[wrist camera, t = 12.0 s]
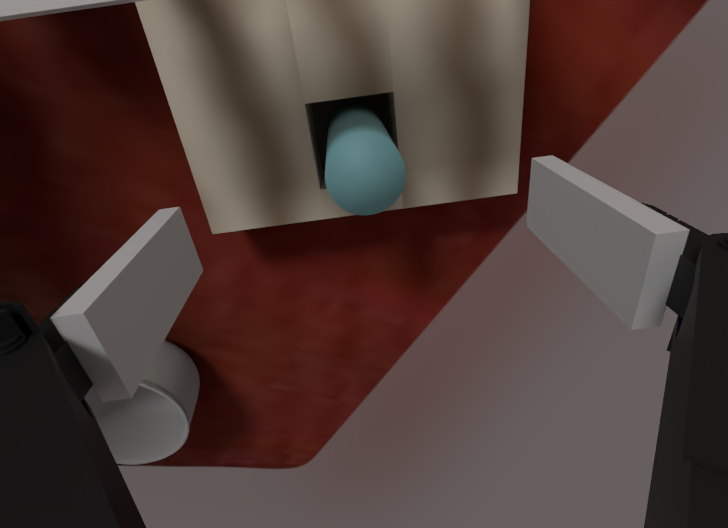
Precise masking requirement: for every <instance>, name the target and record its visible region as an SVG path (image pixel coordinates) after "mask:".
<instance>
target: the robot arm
mask: <svg viewBox="0 0 728 528" xmlns="http://www.w3.org/2000/svg"><path fill="white" fill-rule="evenodd" d="M526 226H527V227H528V228H529V229H530V230H531V231H532V232H533V233H534V234H535V235H536V236H537V237H538V238H539V239H540V240H541V241H542V242H543V243H544V244H545V245H546V246H547V247H548V248H549V249H550V250H551V251H552V252H553V253H554V254H555V255H556V256H557V257H558V258H559V259H560V260H561V261H562V262H563V263H564V264H565V265H566V266H567V267H568V268H569V269H570V270H571V271H572V272H573V273H574V274H576V276H577V277H578V278H579V279H580V280H581V281H583V283H584V284H586V286H587V287H588V288H590V289H591V290H592V291H593V292H594V293H595V294H596V295H597V296H598V297H599V298H600V299H601V300H602V301H603V302H604V303H605V304H606V305H607V306H608V307H609V308H610V309H611V310H612V311H613V312H614V313H615V314H616V315H617V316H618V317H619V318H620V319H621V320H622V321H623V322H624V323H625V324H626V325H627V326H628V327H629V328H630V329H631V330H633V329H640V328H648V327H655V326H660V325H661V322H662V319H663V316H664V313H665V310H666V306H668V307H669V308H670V309H671V310H673V311H674V312H675V313H676V314H678V317H677V321H676V324H675V327H674V330H673V333H672V336H671V339H670V342H669V345H668V348H667V351H670V359H669V366H668V372H667V379H666V386H665V392H664V399H663V405H662V412H661V419H660V425H659V432H658V439H657V445H656V452H655V458H654V465H653V472H652V478H651V485H650V491H649V499H648V505H647V512H646V518H645V524H644V528H728V233H721V234H712V235H707V234H705V233H703V232H701V231H700V230H698V229H696V228H694V227H692V226H690V225H688V224H686V223H685V222H683V221H678V219H677V218H675V217H673V216H671V215H667V213H666V212H664V211H662V210H660V209H658V208H656V207H654V206H652V205H648V204H644V203H641V202H638V201H636V200H634V199H632V198H630V197H628V196H626V195H624V194H623V193H621V192H619V191H617V190H615V189H613V188H612V187H610V186H608V185H606V184H604V183H603V182H601V181H599V180H597V179H595V178H593V177H592V176H590V175H588V174H586V173H584V172H582V171H581V170H578V169H577V168H575V167H573V166H571V165H569V164H568V163H566V162H564V161H562V160H560V159H558V158H557V157H555V156H553V155H550V156H543V157H536V158H532V161H531V173H530V185H529V197H528V209H527V222H526ZM202 272H203V268H202V266H201V263H200V260H199V258H198V255H197V252H196V249H195V247H194V244H193V241H192V239H191V236H190V233H189V230H188V228H187V225H186V222H185V220H184V217H183V214H182V211H181V209H180V207H174V208H167V209H160V210H158V211H157V212H156V213H155V214H154V215H153V216H152V217H151V218H150V219H149V220H148V221H147V222H146V223H145V224H144V225H143V226H142V227H141V228H140V229H139V230H138V231H137V232H136V233H135V234H134V235H133V236H132V237H131V238H130V239H129V240H128V241H127V242H126V243H125V244H124V245H123V246H122V247H121V248H120V249H119V250H118V251H117V252H116V253H115V254H114V255H113V256H112V257H111V258H110V259H109V260H108V261H107V262H106V263H105V264H104V265H103V266H102V267H101V268H100V269H99V270H98V271H97V272H96V273H95V274H94V275H93V276H92V277H91V278H90V279H89V280H87V281H86V282H84V283H83V284H81V285H79V286H78V287H77V288H76V289H75V290H74V291H73V292H72V293H71V294H70V295H69V296H67V299H64V300H63V301H62V302H61V303H60V304H59V305H58V308H55V309H54V310H53V311H52V312H51V313H50V314H49V315H48V316H47V317H46V318H45V319H44V320H43V321H42V322H41V323H40V324H39V325H38V326H37V325H36V324H35V322H34V321H33V319H32V318H31V316H30V314H29V313H28V311H27V310H26V308H25V307H24V305H23V304H22V303H20V302H19V301H8V302H2V303H0V528H146V526H145V524H144V522H143V520H142V518H141V515H140V513H139V511H138V509H137V507H136V505H135V503H134V500H133V498H132V496H131V494H130V492H129V490H128V487H127V485H126V483H125V481H124V479H123V477H122V474H121V472H120V470H119V468H118V466H117V464H116V461H115V459H114V457H113V455H112V453H111V451H110V448H109V446H108V444H107V442H106V440H105V438H104V435H103V433H102V431H101V429H100V427H99V425H98V422H97V420H96V418H95V416H94V414H93V412H92V409H91V407H90V406H89V404H88V403H87V401H86V400H85V398H84V397H85V396H86V394H87V393H88V391H89V390H90V388H91V387H92V386H93V387H94V389H95V390H96V392H97V394H98V395H99V397H100V398H101V400H102V401H103V402H107V401H114V400H121V399H128V398H132V397H133V395H134V393H135V392H136V390H137V388H138V386H139V384H140V383H141V381H142V379H143V377H144V375H145V374H146V372H147V370H148V368H149V367H150V365H151V363H152V361H153V359H154V358H155V356H156V354H157V352H158V350H159V349H160V347H161V345H162V343H163V341H164V340H165V338H166V336H167V334H168V333H169V331H170V329H171V327H172V325H173V324H174V322H175V320H176V318H177V316H178V315H179V313H180V311H181V309H182V308H183V306H184V304H185V302H186V300H187V299H188V297H189V295H190V293H191V291H192V290H193V288H194V286H195V284H196V283H197V281H198V279H199V277H200V275H201V274H202Z"/></svg>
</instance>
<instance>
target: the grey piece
mask: <svg viewBox="0 0 728 528" xmlns="http://www.w3.org/2000/svg"><path fill="white" fill-rule="evenodd" d="M139 1H146V0H0V21H5V20H12V19H19V18H26V17H33V16H40V15H47V14H54V13H61V12H68V11H75V10H82V9H90V8H97V7H104V6H111V5H118V4H125V3H132V2H139Z"/></svg>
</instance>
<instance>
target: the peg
mask: <svg viewBox="0 0 728 528" xmlns="http://www.w3.org/2000/svg"><path fill="white" fill-rule="evenodd" d="M405 180H406V170H405V165H404V161H403V159H402V157H401V155H400V153H399V151H398V150H397V148H396V146H395V144H394V143H393V141H392V139H391V137H390V136H389V134H388V132H387V130H386V129H385V127H384V125H383V123H382V122H381V120H380V118H379V116H378V115H377V113H376V112H375V111H374V110H373V109H372V108H371V107H370V106H368V105H366V104H364V103H361V102H349V103H346V104H343V105H341V106H340V107H339V108H337V109H336V110H335V112H334V113H333V114H332V116H331V118H330V121H329V126H328V138H327V151H326V164H325V184H326V188H327V191H328V193H329V195H330V197H331V198H332V200H333V201H334V202H335V203H336V204H337V205H338V206H339V207H340V208H342V209H343V210H345V211H347V212H349V213H352V214H356V215H373V214H377V213H380V212H382V211H384V210H386V209H387V208H389V207H390V206H391V205H393V204H394V203H395V202H396V200H397V199H398V198H399V196H400V195H401V193H402V191H403V188H404V185H405Z"/></svg>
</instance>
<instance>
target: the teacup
mask: <svg viewBox="0 0 728 528" xmlns="http://www.w3.org/2000/svg"><path fill="white" fill-rule="evenodd" d="M199 385H200V381H199V373H198V370H197V367H196V365H195V364H194V362H193V361H192V359H191V358H190V357H189V355H188V354H187V353H186V352H184V351H183V350H182V349H181V348H179V347H178V346H176V345H174V344H173V343H170V342H168V341H166V340H164V341H163V343H162V345H161V347H160V349H159V350H158V352H157V354H156V356H155V358H154V359H153V361H152V363H151V365H150V367H149V368H148V370H147V372H146V374H145V375H144V377H143V379H142V381H141V383H140V384H139V386H138V388H137V390H136V392H135V393H134V395H133V397H132V398H128V399H121V400H114V401H107V402H103V401H102V400H101V398H100V397H99V395H98V394H97V392H96V390H95V389H94V387H93V386H92V387H91V388H90V390H89V391H88V393H87V394H86V396H85V397H84V398H85V400H86V401H87V403H88V404H89V406H90V407H91V409H92V412H93V414H94V416H95V418H96V420H97V422H98V425H99V427H100V429H101V431H102V433H103V435H104V438H105V440H106V442H107V444H108V446H109V448H110V451H111V453H112V455H113V457H114V459H115V461H116V464H131V465H137V464H145V463H150V462H154V461H158V460H161V459H164V458H166V457H168V456H170V455H172V454H173V453H175V452H177V451H178V450H179V449H180V448H181V447H182V446H183V445H184V443H185V442H186V440H187V438H188V435H189V430H190V423H191V420H192V416H193V413H194V410H195V406H196V402H197V398H198V393H199Z"/></svg>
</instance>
